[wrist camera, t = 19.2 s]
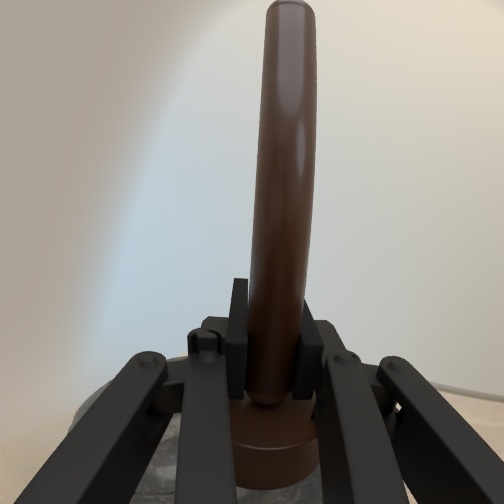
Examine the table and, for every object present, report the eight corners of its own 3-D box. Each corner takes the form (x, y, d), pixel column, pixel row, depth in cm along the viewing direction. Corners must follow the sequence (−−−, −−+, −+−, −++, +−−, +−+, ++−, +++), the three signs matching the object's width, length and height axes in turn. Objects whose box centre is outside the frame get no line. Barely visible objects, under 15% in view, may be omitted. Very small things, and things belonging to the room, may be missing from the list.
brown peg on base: (176, 468, 9) (196, -30, 6) (222, 399, 15) (243, 39, 12) (315, 501, 8) (363, -41, 5) (325, 417, 14) (358, 39, 11)
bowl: (239, 390, 27) (243, 323, 25) (388, 485, 14) (433, 421, 12) (70, 452, 15) (34, 382, 13) (198, 633, 3) (178, 648, 1)
